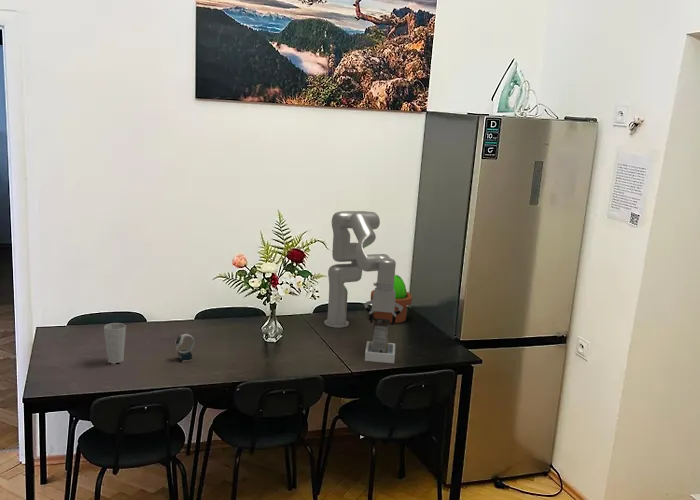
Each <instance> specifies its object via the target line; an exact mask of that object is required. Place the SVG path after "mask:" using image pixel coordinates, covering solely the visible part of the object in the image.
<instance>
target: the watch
mask: <svg viewBox="0 0 700 500" xmlns="http://www.w3.org/2000/svg"><path fill="white" fill-rule="evenodd" d="M186 337H188V338H191V339H192V340H191V342H190V344H189V346H188V348H187V349H183V350H179V348H180V347H181V346H182V344H183V343H184V341H185V340H184V339H185V338H186ZM195 343H196V342H195V338H194V337H193V336H192V335H191V334H188V333H183V334H179V335H178V336H177V337H176V339H175V341H174V347H175V349H176V351H177V358H178V357H179V358H180V359H181V361H183V360H190V359H193V354H192V352H191V351H192V350H193V348H194V347H195ZM179 358H178V359H179ZM181 361H180V362H181Z"/></svg>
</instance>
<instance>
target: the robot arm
mask: <svg viewBox="0 0 700 500" xmlns="http://www.w3.org/2000/svg"><path fill="white" fill-rule="evenodd" d="M380 222H381V221H380V217H379V215H378V214H377V213H376V212H374V211H365V210H353V211H352V210H345V211H343V210H342V211H336V212H335V213H334V214H333V215H332V217H331V229H332V234H333V235H332V236H333V237H332V252H331V253H332V254H331V255H332V260H333V261H334V262H337V263H336V264H333V265H331V266H330V267H329V268H328V270H327V277H328V307H327V319H325V320H324V321H323V322H324V325H325V326H327V327H330V328H335V329H342V328H347V327H348V326H349V325H350V324H349V323H350V322H349V321H348V320H347V310H348V308H347V306H348V294H349V292H348V288H347V287H346V286H345V283H355V282H356V283H357V282H359V281H360V280H361V279H362V275H363V272H366V273H367V272H377V277H376V282H373V286H375V288H374V289H373V290H374V294H373V300H371V299H370V300H368V301H366V302H363V305H364V309H365V310H366V312H367V313H368V314H369V315H368V321H370V324H372V323H373V318H374V311H376V312H386V313H392V314H393V317H392V323H391V326H393V325H394V324H396V323H395V319H396V316H397V315H398V314H399V313H400V312H401V311H402V309H403V307H402V306H401V305H399V304H398V303H396V302H395V290H394V278H395V275H396V265H397V263H396V260H395V259H393V258H391V257H390V256H389V255H387V254H384V253H376V254H375V253H373V254H367V253H366V252H365V250H364V249H366V248H367V247H369V246H371V245H372V244H373V243H374V242H375V241H376V239H377V235H376V233H375V231H374V230H377V229H379V227H380V224H381V223H380ZM349 229H351V230H352V231H353V234H354V236H355V237H356V240H357V241H358V242H351V233H350V231H349ZM345 262H346V263H345ZM347 262H350V263H347ZM370 305H371V308H370V307H369V306H370ZM395 306H396V307H398V308H399V309H398V310H397V311H396V312H395Z"/></svg>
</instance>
